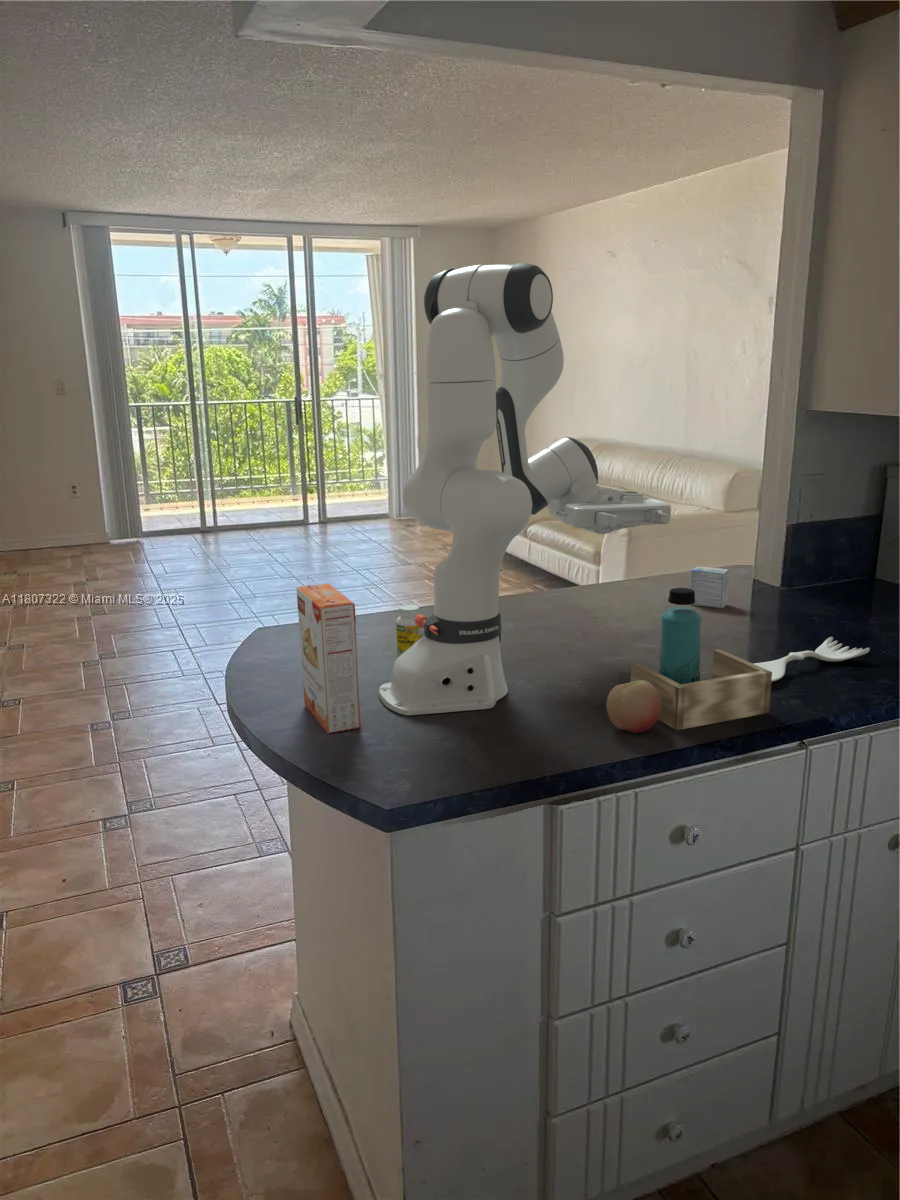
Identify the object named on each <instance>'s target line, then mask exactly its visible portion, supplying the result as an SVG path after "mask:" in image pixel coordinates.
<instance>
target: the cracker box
mask: <svg viewBox="0 0 900 1200" xmlns="http://www.w3.org/2000/svg"><path fill="white" fill-rule="evenodd" d="M296 600H297V613H298V627H299V641H300V642H299V643H300V655H301V656H300V658H301V671H302V673H301V674H302V683H303V684H302V686H303V689H302V690H303V699H304V702H303V703H304V705H305V706H306V708H307V709H308V710H309V712H310V711H311V712H310V713H311V714H312V716H313V715H314V716H313V717H314V718H315V719H316V721H317V720H318V721H317V722H318V724H319V725H320V726H321V727H322V729H323V728H324V729H325V730H324V729H323V730H324V732H325V733H326V732H327V733H330V732H337V733H339V732H338V731H342V732H345V731H344V730H348V731H351V730H350V729H353V730H358V729H362V723H361V722H362V721H361V708H360V707H361V706H360V687H359V686H360V685H359V662H358V645H357V644H358V643H357V641H358V640H357V624H356V623H357V620H356V618H357V617H356V604H355V602H354V601H352V600H351V599H350V598H348V597H347V596H346V595H344V594H343V593H342V592H341V591H339V590H338V589H336V588H335V587H334V586H332V584H330V583H320V584H309V585H302V586H298V587H296ZM357 728H358V729H357ZM327 733H326V734H327Z"/></svg>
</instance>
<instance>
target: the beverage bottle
mask: <svg viewBox="0 0 900 1200" xmlns="http://www.w3.org/2000/svg"><path fill="white" fill-rule="evenodd" d="M668 593H669V594H668V601H667V602H668V603H670V604H672V605H679V606H677V607H676V606H675V607H670V608H668V609H666V611H664V612H663V613H662V614H661V616H660V617H661V632H660V649H659V655H660V656H659V670H658V672H659V673H660V674H661V675H663V676H665V677H667V678H669V679H671V680H673V681H675V682H677V683H679V684H686V683H692V682H698V681H700V677H701V673H700V665H701V658H700V657H701V641H702V640H701V627H702V625H701V623H702V616H701V614H699V613H698V611H696V610H695V609H693V608H690V607H683V606H684V605H685V606H689V605H690V604H694V603H695V592H694V590H692V589H690V587H673V588H670V590H669V592H668ZM680 605H681V607H680Z"/></svg>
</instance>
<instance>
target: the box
mask: <svg viewBox="0 0 900 1200" xmlns="http://www.w3.org/2000/svg"><path fill="white" fill-rule="evenodd" d="M712 658H713V659H712V673H711V679H706V680H699V681H698V682H692V683H686V684H679V683H677V682H675V681H673V680H671V679H669V678H667V677H665V676H663V675H661V674H660V672H659V671H658V672H657V671H656V670H654V669H652V668H650V667H648V666H646V665H644V664H642V663H640V662H638V661H637V662H635V661H634V662H631V663H630V665H631V667H630V682H634V681H639V680H644V681H647V682H649V683H650V684H652V685H653V686H654V687H655V689H656V690H657V692H658V694H659V696H660V699H661V713H660V716H659V718H658V719H659V720H658V721H659V722H661V723H663V722H664V724H665V723H666V724H665V725H667V726H668V725H669V726H668V727H670V728H672V729H674V730H675V731H682V730H686V729H690V728H696V727H700V726H701V727H702V726H706V725H712V724H718V723H722V722H728V721H733V720H738V719H743V718H748V717H754V716H759V715H764V714H769V713H770V703H771V690H772V682H771V680H772V672H771V671H769V670H766V669H764V668H762V667H759V666H757V665H755V664H754V663H752V662H750V661H748V660H745V659H743V658H741V657H739V656H736V655H734V654H732V653H729V652H727V651H724V650H722V649H714V650H713V657H712Z"/></svg>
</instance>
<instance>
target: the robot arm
mask: <svg viewBox="0 0 900 1200" xmlns="http://www.w3.org/2000/svg"><path fill="white" fill-rule="evenodd" d="M553 301H554V293H553V287H552V283H551V281H550V278H549V277H548V275H547V274H546V272H545V271H544V270H543V269H542V268H541V267H539V266H538V265H535V264H532V263H526V262H525V263H524V262H517V263H515V264H508V263H507V264H505V263H504V264H503V263H500V264H499V263H497V264H488V263H481V264H475V265H469V266H463V267H460V268H449V269H446V270H443V271H440V272H439V273H436V274H435V275H433V276H432V277H431V279H430V280H429V282H428V284H427V286H426V289H425V292H424V297H423V309H424V313H425V316H426V319H427V321H428V323H429V325H430V326H429V332H428V339H427V348H426V350H427V351H426V370H425V371H426V396H427V397H426V398H427V399H426V400H427V431H426V432H427V434H426V441H425V444H424V449H423V452H422V455H421V459H420V461H419V464H418V466H417V467H416V469H415V470H414V471H413V472H412V473H411V474H410V475H409V477H408V478H407V480H406V483H405V484H404V488H403V495H402V496H403V505H404V507H405V510H406V512H407V513H408V515H409V516H410V517H411V518H412V519H414V520H416V521H418V522H420V523H421V524H423V525H424V526H427V527H428V528H432V529H436V530H440V531H445V532H451V533H452V543H451V547H450V550H449V553H448V556H447V557H445V558H444V559H442V560H441V561H439V562H438V564H437V565H436V567H435V569H434V572H433V606H434V607H433V610H434V611H433V612H432V613H431V615H430V616H429V617H426V616H425V615H424V614H421V613H419V615H417V616H416V618H415V619H416V620H414V621H415V623H416V625H418V626H419V627H421V628H423V630H424V636H423V637H422V638H421V639H419V640H418V641H417V642H416V643H415V644H414V645H412V646H411V647H410V648H409V649H408V650H406V651H405V652H404V653H403V654H401V655H398V656H397V658H396V659H395V661H394V663H393V667H392V672H391V678H390V679H391V680H390V681H389V682H387V683H383V684H381V685H380V687H379V689H378V697H380V698H379V700H380V699H381V700H380V701H381V702H382V704H383V705H384V706H386V707H387V708H388V709H390V711H393V712H395V713H397V714H401V715H404V716H415V715H417V716H418V715H431V714H439V713H440V714H442V713H452V712H453V713H454V712H465V711H476V710H478V711H479V710H487V709H488V710H489V709H492V708H494V707H495V706H496V704H497V701H499V700H500V699H502V698H504V697H505V696H506V695H507V694H508V692H509V689H508V686H507V682H506V679H505V673H504V670H503V664H502V656H501V645H500V643H501V642H502V614H501V612H500V611H499V597H500V593H499V592H500V591H499V590H500V573H501V567H502V564H503V559H504V556H505V554H506V551H507V550H508V546H509V545H510V544H511V542H512V540H513V539H514V538H516V537H517V536H518V535H520V533H522V532H523V531H524V530H525V528H526V527H527V526H528V523H529V522H530V519H531V517H532V515H533V516H535V515H536V514H538V513H539V512H541V511H542V510H543V509H545V508H546V510H547V511H548V513H549V514H550V515H551V516H552V517H553V518H555V519H556V520H558V521H559V522H561V523H563V524H565V525H568V526H571V527H574V528H578V529H582V530H584V531H588V532H591V533H595V534H598V535H607V534H610V533H612V532H616V531H618V530H621V529H626V528H627V529H628V528H635V527H640V526H651V525H652V526H653V525H668V524H669V523H670V521H671V518H672V506H671V504H669V502H665V501H662V500H659V499H656V498H652V497H646V496H644V493H642V492H638V491H637V492H636V491H626V490H625V491H624V490H618V489H617V488H612V487H606V486H600V485H598V483H599V470H598V465H597V462H596V459H595V457H594V455H593V454H594V453H592V451H591V449H590V448H589V447H588V446H587V445H586V444H584V443H583V442H582V441H580V440H578V439H575V438H573V437H570V436H563V437H561V438H559V439H556V441H553V442H552V443H550V444H548V445H547V446H545V447H543V449H541V450H539V451H538V452H535V453H534V454H533V455H531V456H529V457H528V447H527V441H526V426H527V423H528V421H529V419H530V416H531V415H532V413H534V410H535V409H536V408H537V406H539V404H540V403H541V401H542V400H544V398H546V396H547V395H548V394H549V393H550V392H551V391H553V388H555V386H556V385H557V384H558V381H559V379H560V378H561V375H562V373H563V370H564V363H565V359H564V350H563V345H562V341H561V338H560V334H559V330H558V327H557V323H556V320H555V318H554V315H553V312H552V309H553V303H554V302H553ZM492 337H494V339H495V345H496V349H497V352H498V353H497V354H498V356H499V360H500V377H499V378H500V379H499V385H498V388H497V387H496V384H497V383H496V365H495V356H494V348H493V342H492ZM496 388H497V389H496ZM495 431H496V435H497V436H496V437H497V442H498V449H499V457H500V465H501V471H500V470H491V469H482V468H477V463H478V456H479V453H480V450H481V447H482V445H483V443H484V442H485V441H487V440H488V439H489V438H490V437H491V436H493V434H494V433H495Z"/></svg>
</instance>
